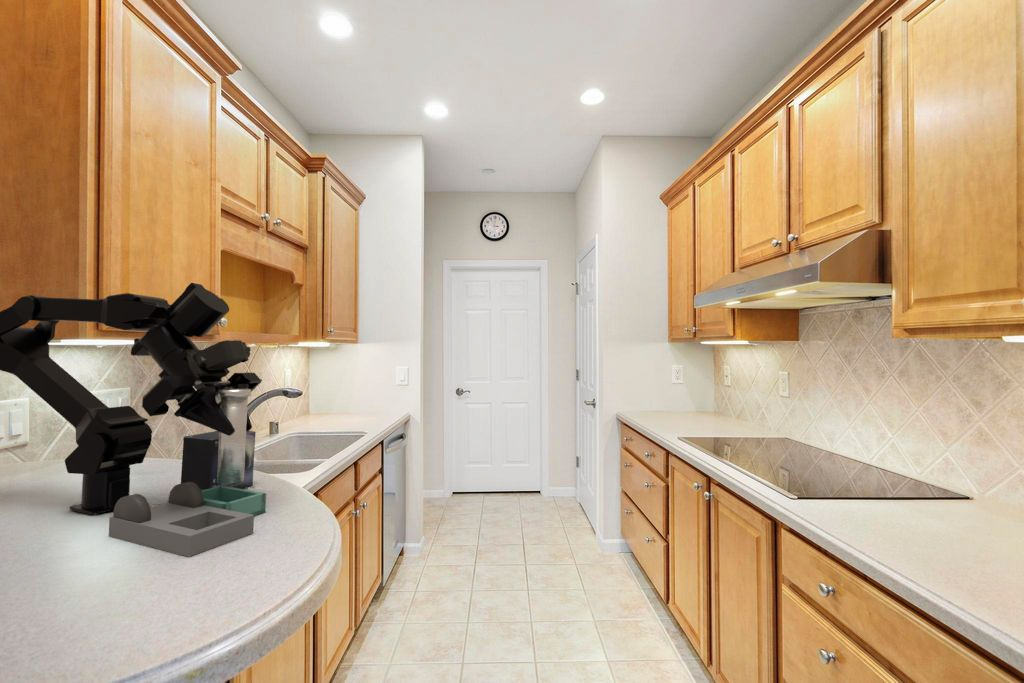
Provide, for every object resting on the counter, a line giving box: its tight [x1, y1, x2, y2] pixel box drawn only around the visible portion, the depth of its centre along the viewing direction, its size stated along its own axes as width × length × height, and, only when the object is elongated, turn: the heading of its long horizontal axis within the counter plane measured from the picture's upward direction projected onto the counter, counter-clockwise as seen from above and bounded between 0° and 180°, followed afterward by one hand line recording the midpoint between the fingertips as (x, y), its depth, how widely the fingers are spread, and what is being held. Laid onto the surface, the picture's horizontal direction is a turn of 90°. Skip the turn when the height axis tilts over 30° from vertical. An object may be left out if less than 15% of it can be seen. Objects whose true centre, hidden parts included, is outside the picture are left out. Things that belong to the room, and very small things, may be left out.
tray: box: [201, 486, 267, 517], centre depth 76 cm, size 10×7×3 cm
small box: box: [180, 430, 257, 491], centre depth 88 cm, size 11×6×10 cm, turn 168°
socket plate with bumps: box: [108, 482, 255, 558], centre depth 67 cm, size 16×9×6 cm, turn 68°
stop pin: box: [217, 388, 252, 484], centre depth 75 cm, size 4×4×14 cm
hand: (241, 431), depth 75 cm, fingers closed on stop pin, 4 cm apart
